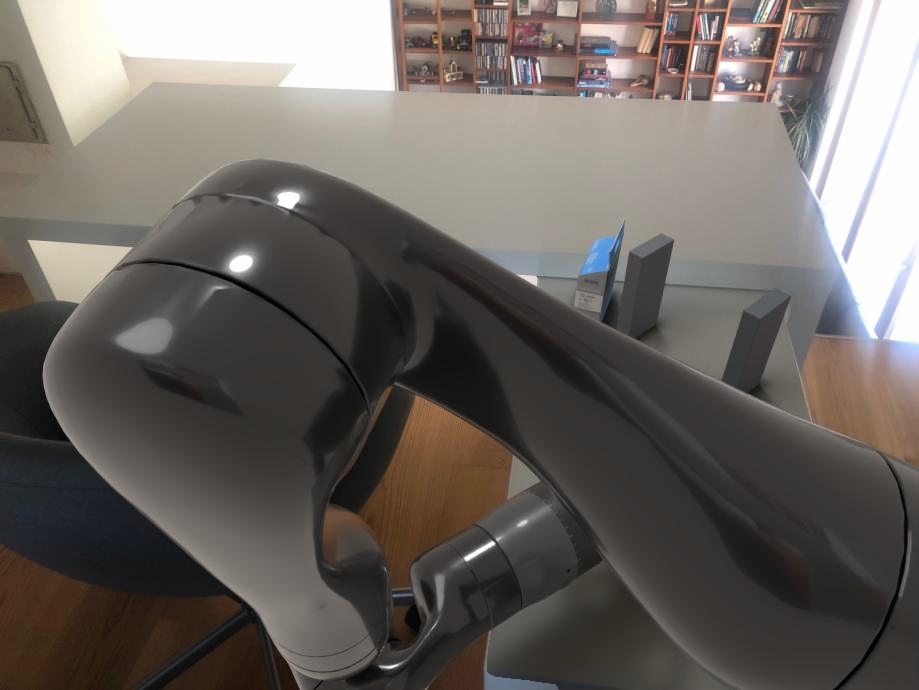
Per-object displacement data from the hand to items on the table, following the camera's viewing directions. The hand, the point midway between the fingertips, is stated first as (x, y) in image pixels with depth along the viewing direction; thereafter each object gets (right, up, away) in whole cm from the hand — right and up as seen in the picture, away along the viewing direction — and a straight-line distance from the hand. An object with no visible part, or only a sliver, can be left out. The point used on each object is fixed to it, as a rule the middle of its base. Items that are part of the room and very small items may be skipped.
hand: (698, 442), depth 60 cm
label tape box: (-3, +13, +34) cm, 36 cm away
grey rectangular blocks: (+7, +7, +26) cm, 28 cm away
